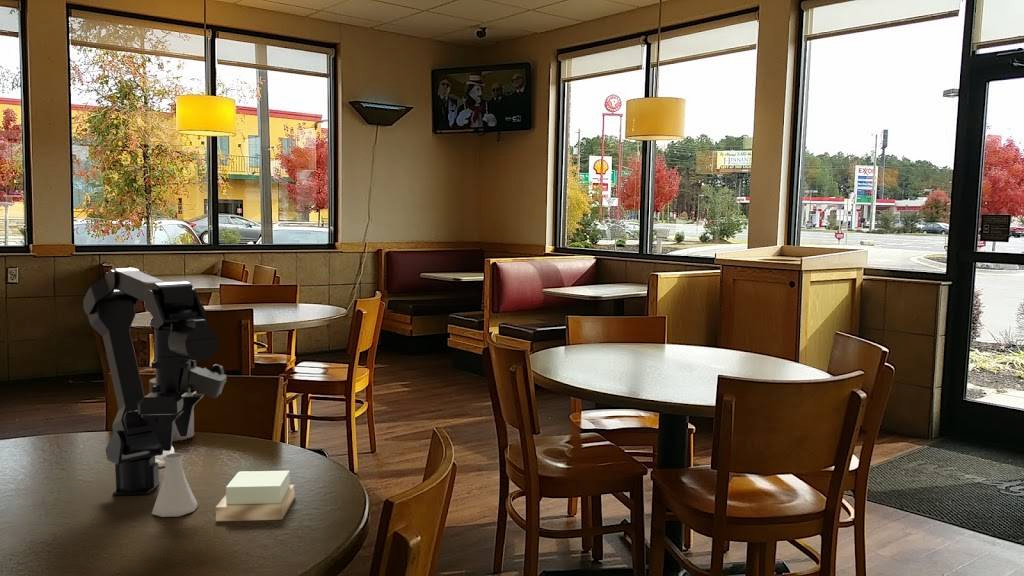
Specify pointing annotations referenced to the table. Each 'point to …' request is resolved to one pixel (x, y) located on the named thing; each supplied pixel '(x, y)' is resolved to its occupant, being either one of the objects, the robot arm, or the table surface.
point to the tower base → (254, 509)
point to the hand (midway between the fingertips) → (175, 443)
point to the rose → (160, 457)
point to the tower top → (258, 487)
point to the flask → (174, 490)
